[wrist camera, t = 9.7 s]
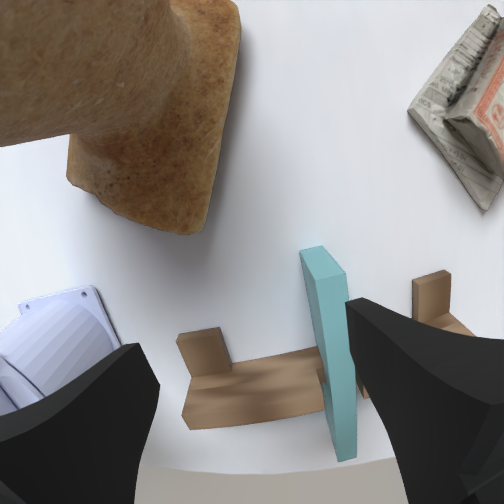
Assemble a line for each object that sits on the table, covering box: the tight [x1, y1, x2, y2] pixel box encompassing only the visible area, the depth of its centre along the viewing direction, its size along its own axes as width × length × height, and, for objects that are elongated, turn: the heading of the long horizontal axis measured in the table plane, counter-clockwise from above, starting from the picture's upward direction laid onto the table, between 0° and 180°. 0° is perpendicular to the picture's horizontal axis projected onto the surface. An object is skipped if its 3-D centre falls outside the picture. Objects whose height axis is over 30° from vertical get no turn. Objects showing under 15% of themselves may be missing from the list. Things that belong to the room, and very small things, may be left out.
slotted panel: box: [299, 246, 357, 462], centre depth 18 cm, size 16×2×5 cm, turn 14°
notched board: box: [176, 270, 476, 430], centre depth 18 cm, size 20×8×5 cm, turn 103°
